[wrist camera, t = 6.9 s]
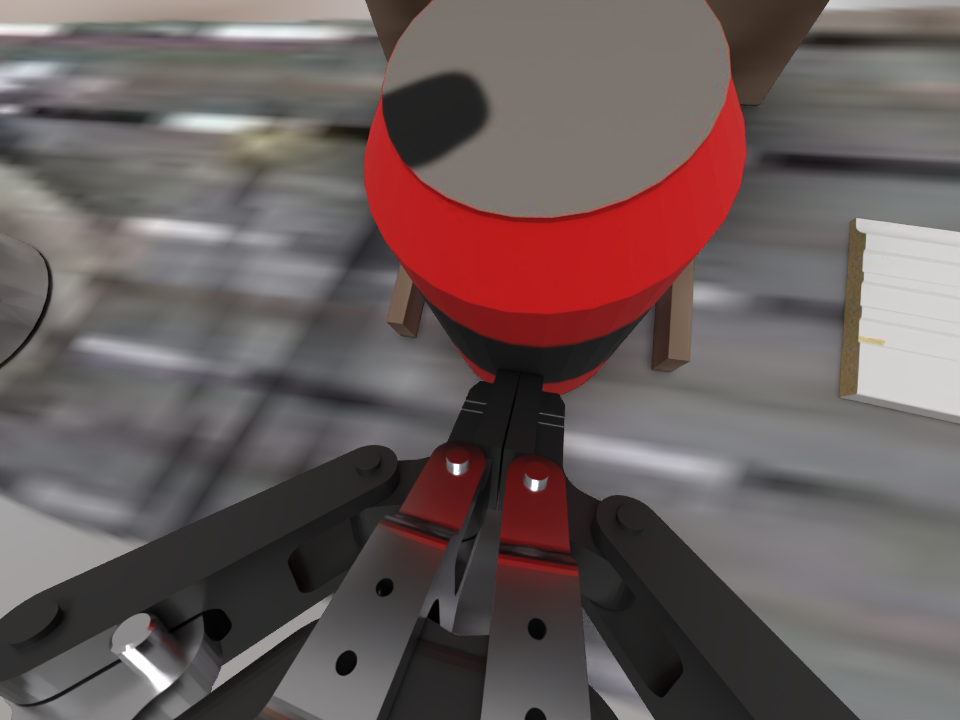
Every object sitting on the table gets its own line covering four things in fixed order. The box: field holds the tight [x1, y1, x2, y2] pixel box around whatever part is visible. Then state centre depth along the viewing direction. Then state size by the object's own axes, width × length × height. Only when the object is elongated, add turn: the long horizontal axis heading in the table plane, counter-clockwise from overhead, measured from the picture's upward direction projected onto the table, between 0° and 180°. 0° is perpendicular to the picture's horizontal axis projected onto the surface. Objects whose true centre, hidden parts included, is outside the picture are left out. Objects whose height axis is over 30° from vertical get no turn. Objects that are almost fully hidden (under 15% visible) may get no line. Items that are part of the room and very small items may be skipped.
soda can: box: [364, 0, 747, 394], centre depth 12 cm, size 8×8×12 cm
